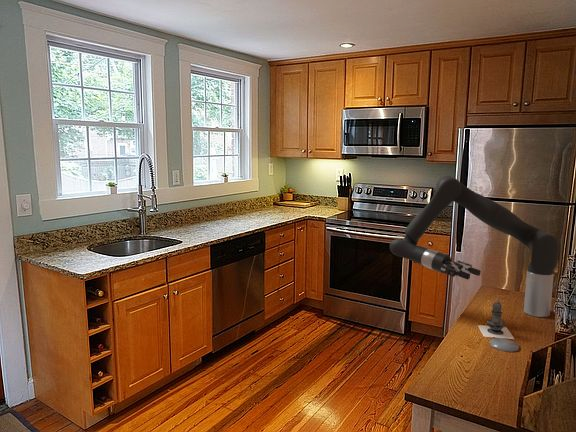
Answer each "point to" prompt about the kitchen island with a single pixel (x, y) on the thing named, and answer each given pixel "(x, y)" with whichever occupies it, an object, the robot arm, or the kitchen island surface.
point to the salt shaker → (496, 320)
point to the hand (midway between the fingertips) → (474, 275)
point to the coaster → (504, 344)
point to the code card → (486, 334)
